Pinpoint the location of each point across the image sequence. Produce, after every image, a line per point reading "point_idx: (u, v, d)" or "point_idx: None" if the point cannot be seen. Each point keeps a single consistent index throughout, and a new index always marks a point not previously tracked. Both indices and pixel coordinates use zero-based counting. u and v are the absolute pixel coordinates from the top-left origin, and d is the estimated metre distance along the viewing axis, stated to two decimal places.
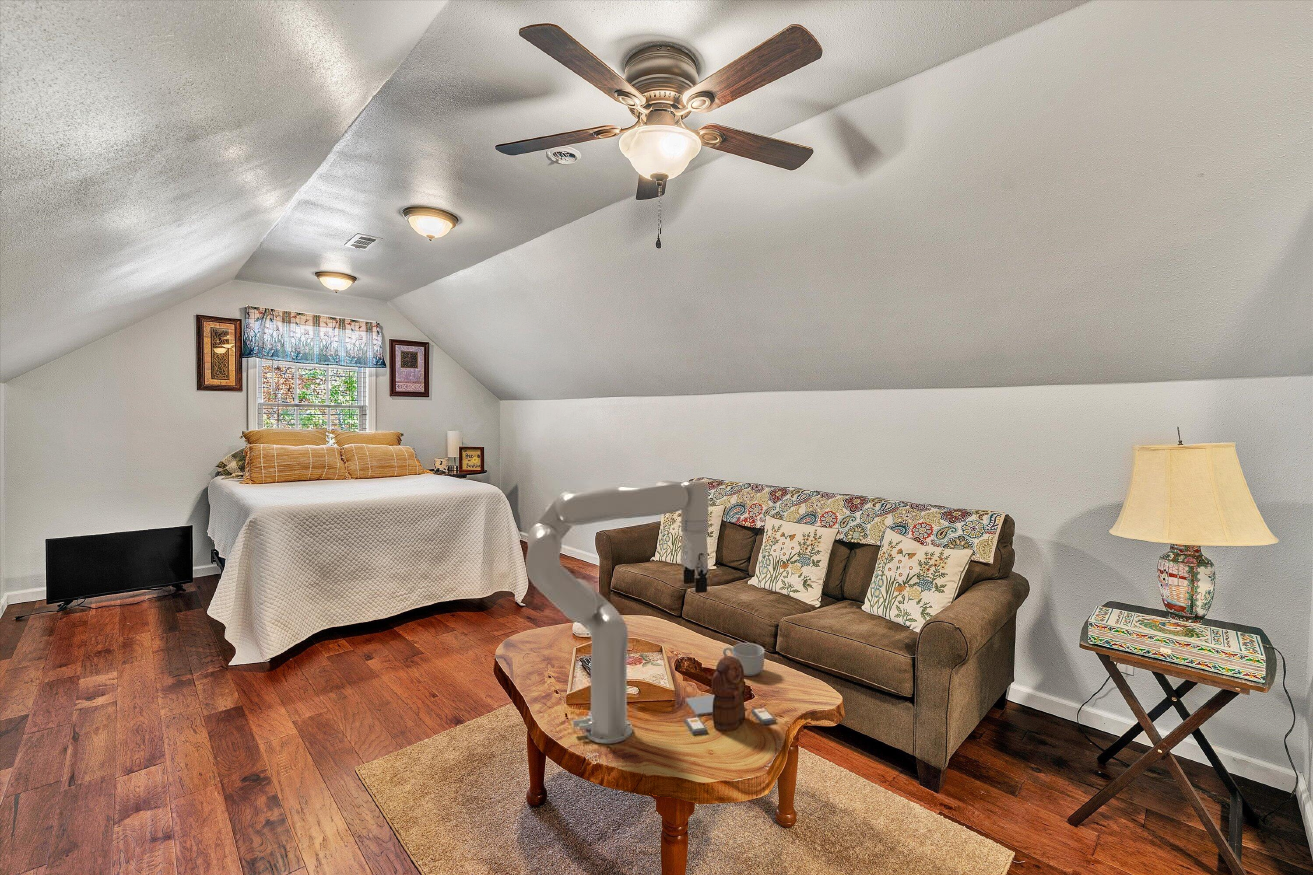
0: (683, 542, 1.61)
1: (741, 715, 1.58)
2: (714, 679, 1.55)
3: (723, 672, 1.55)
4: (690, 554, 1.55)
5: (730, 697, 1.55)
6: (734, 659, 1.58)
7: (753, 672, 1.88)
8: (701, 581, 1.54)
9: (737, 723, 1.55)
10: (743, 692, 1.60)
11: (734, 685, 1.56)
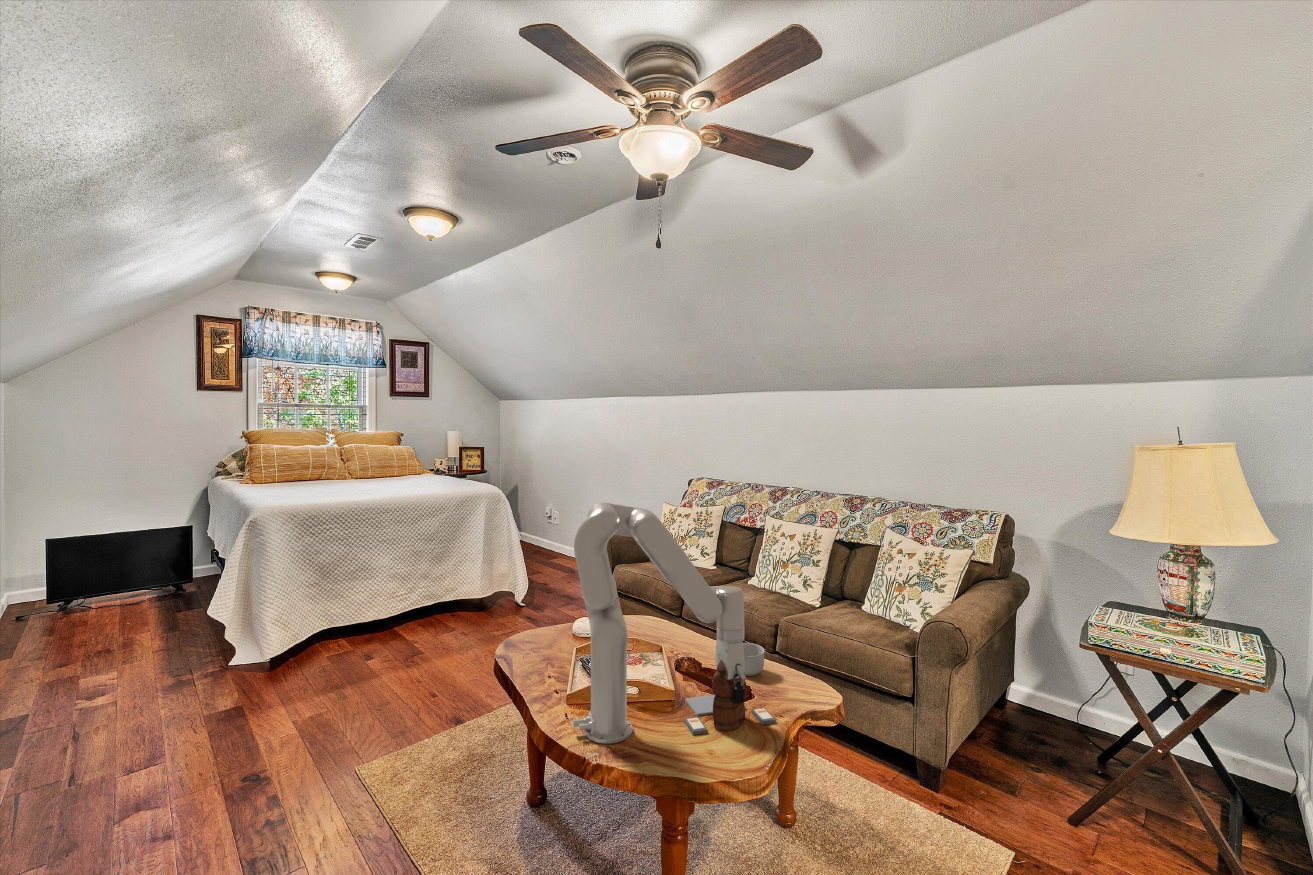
0: (719, 649, 1.59)
1: (741, 715, 1.58)
2: (715, 679, 1.55)
3: (724, 672, 1.55)
4: (727, 664, 1.54)
5: (730, 697, 1.54)
6: None
7: (753, 672, 1.88)
8: (738, 692, 1.53)
9: (737, 723, 1.55)
10: (744, 692, 1.60)
11: None
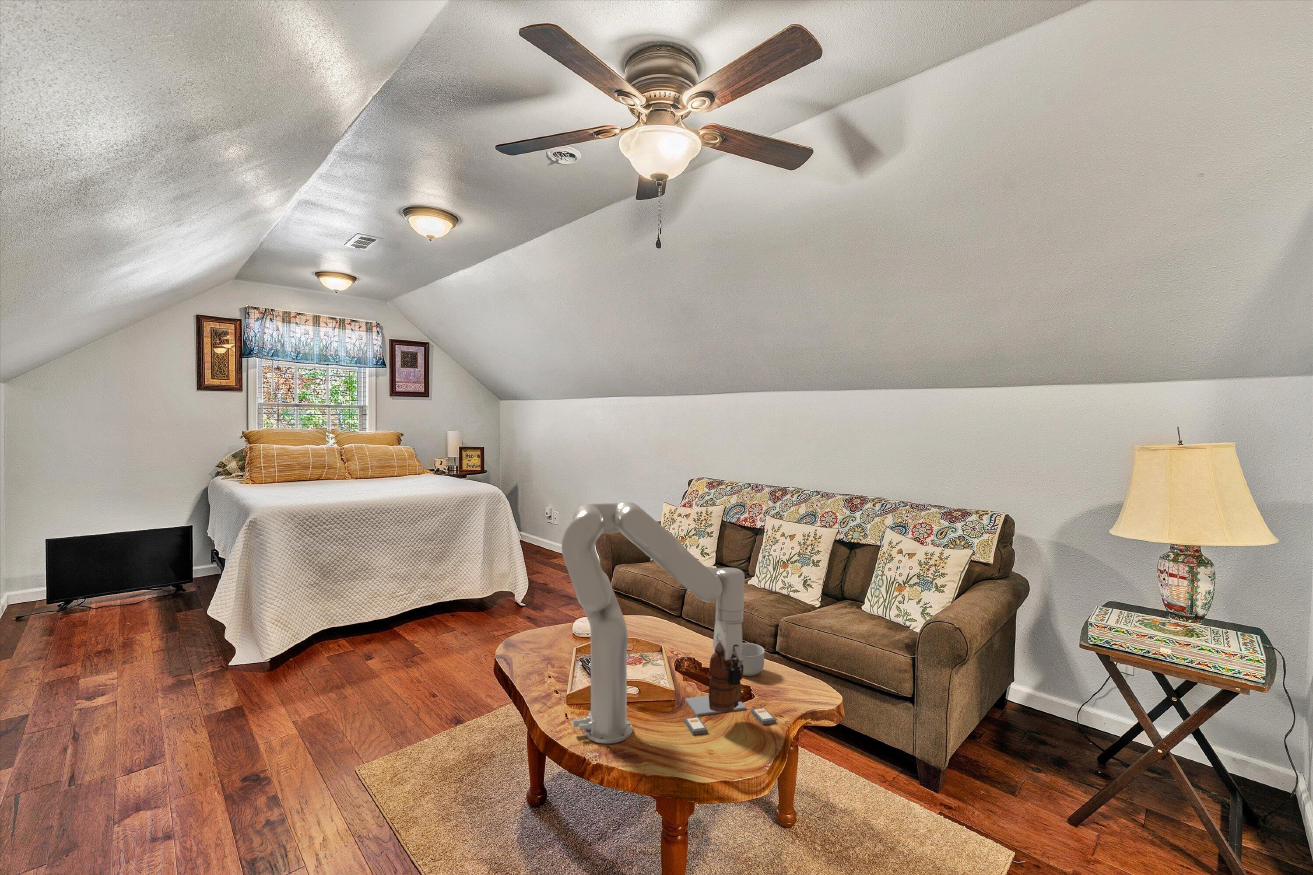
0: (717, 630, 1.59)
1: (737, 698, 1.57)
2: (712, 660, 1.54)
3: (722, 653, 1.54)
4: (725, 645, 1.54)
5: (727, 679, 1.54)
6: None
7: (753, 672, 1.88)
8: (734, 674, 1.53)
9: (733, 705, 1.55)
10: (740, 675, 1.60)
11: None
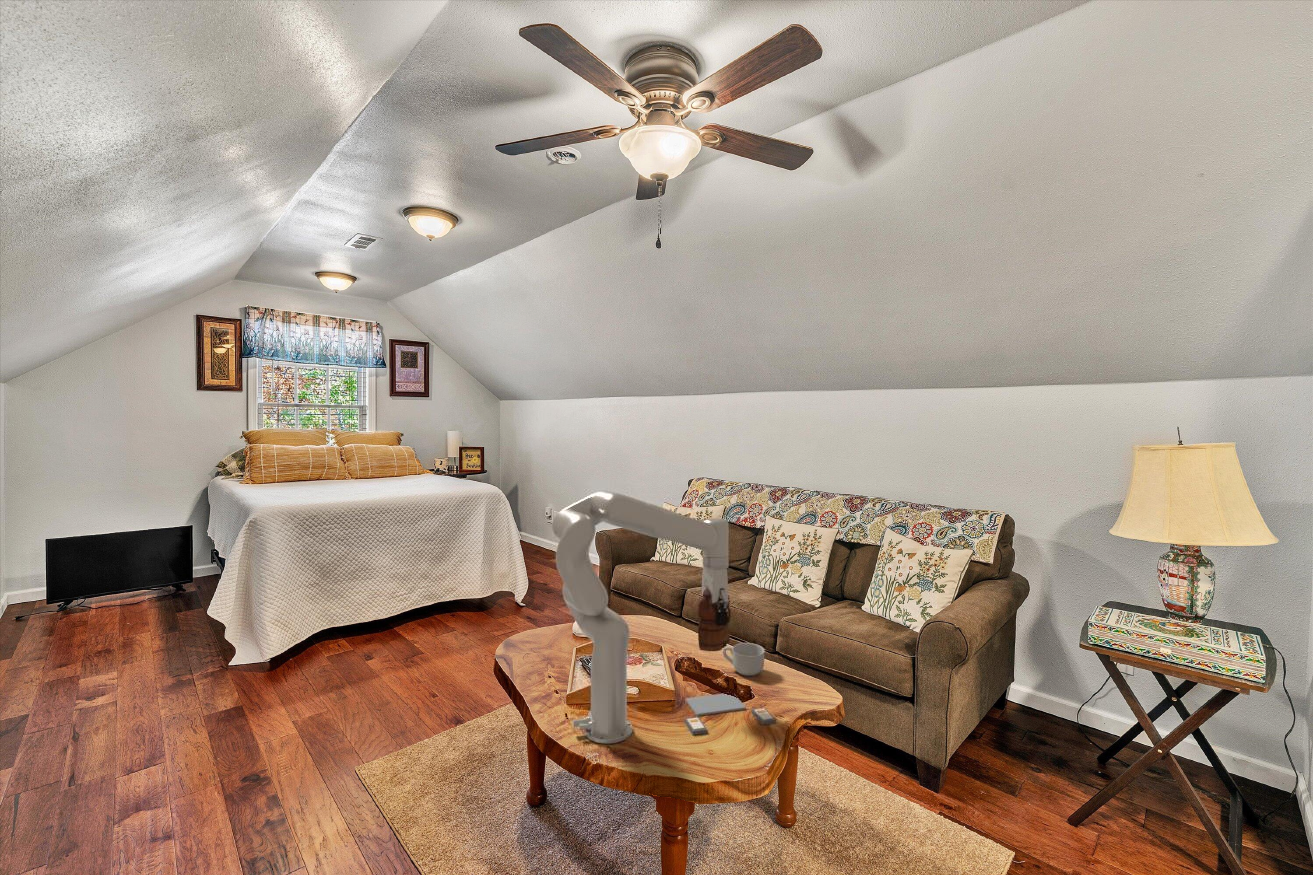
0: (704, 576, 1.70)
1: (725, 639, 1.68)
2: (700, 603, 1.65)
3: (709, 597, 1.65)
4: (711, 589, 1.65)
5: (715, 620, 1.65)
6: None
7: (753, 672, 1.88)
8: (721, 615, 1.64)
9: (721, 645, 1.66)
10: (728, 618, 1.70)
11: None
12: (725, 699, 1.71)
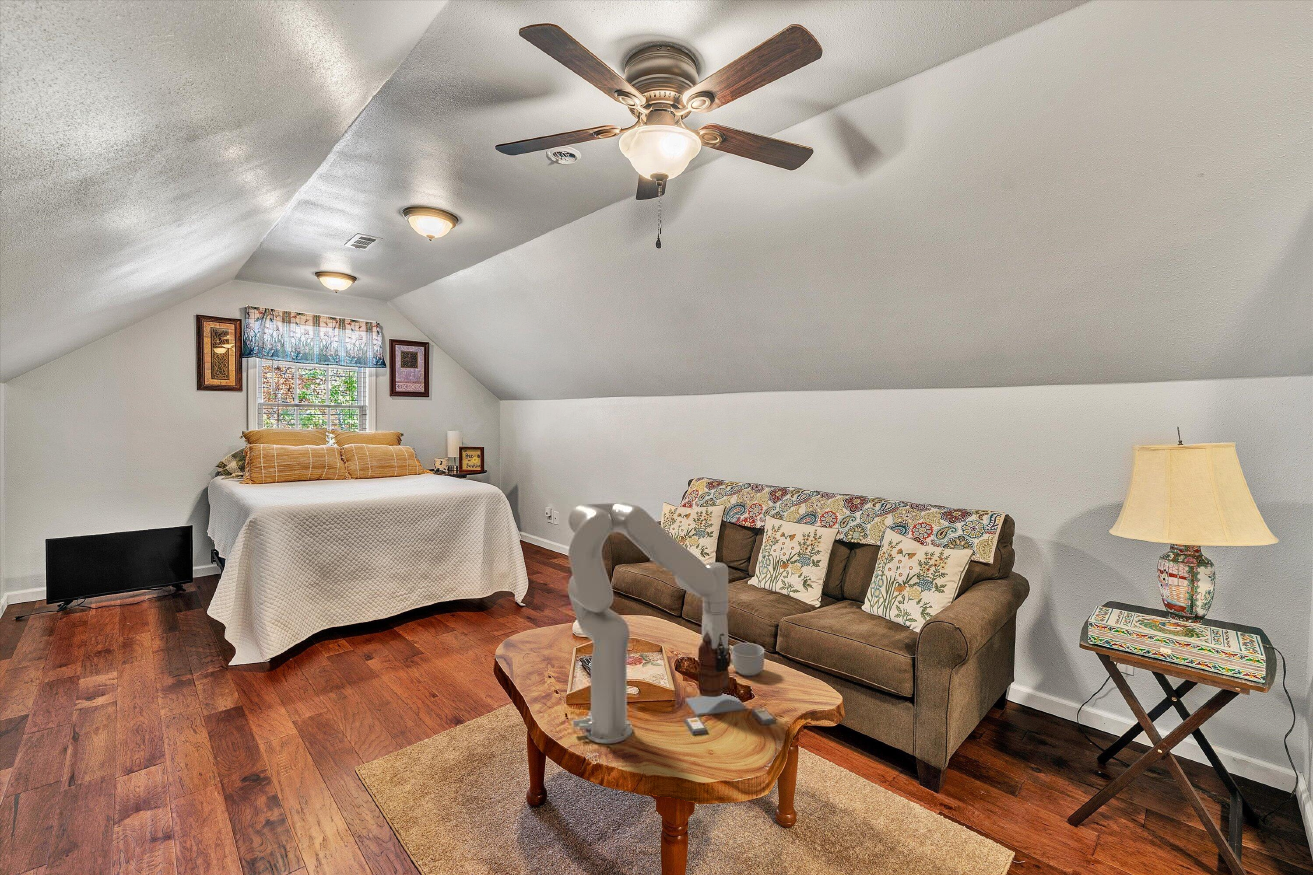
0: (704, 621, 1.70)
1: (725, 683, 1.68)
2: (700, 649, 1.65)
3: (709, 642, 1.65)
4: (711, 634, 1.65)
5: (715, 666, 1.65)
6: None
7: (753, 672, 1.88)
8: (721, 661, 1.64)
9: (721, 690, 1.66)
10: (728, 662, 1.70)
11: None
12: (725, 699, 1.71)
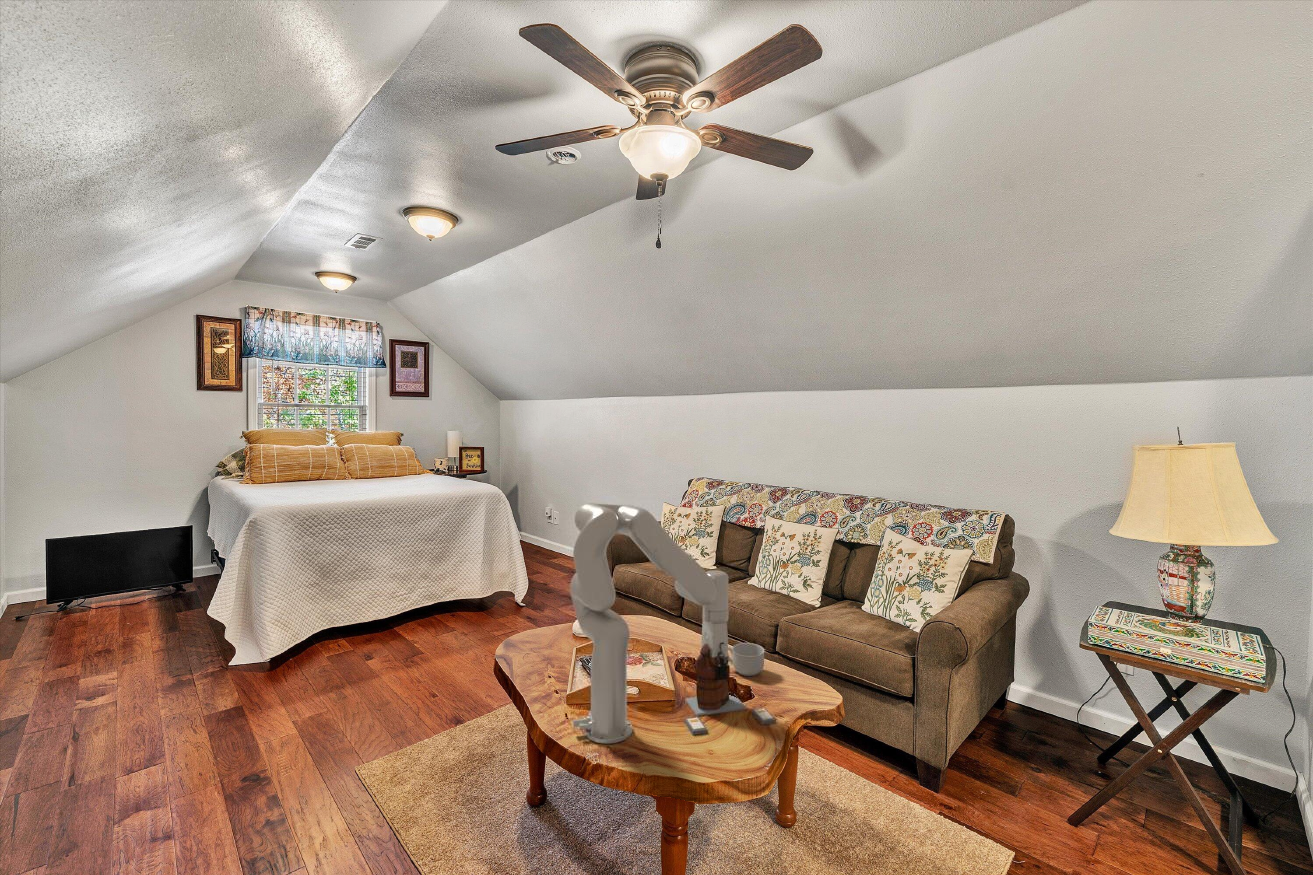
0: (704, 629, 1.70)
1: (724, 696, 1.68)
2: (698, 661, 1.65)
3: (706, 655, 1.65)
4: (711, 643, 1.65)
5: (712, 679, 1.65)
6: None
7: (753, 672, 1.88)
8: (721, 669, 1.64)
9: (719, 703, 1.66)
10: (727, 675, 1.70)
11: None
12: None
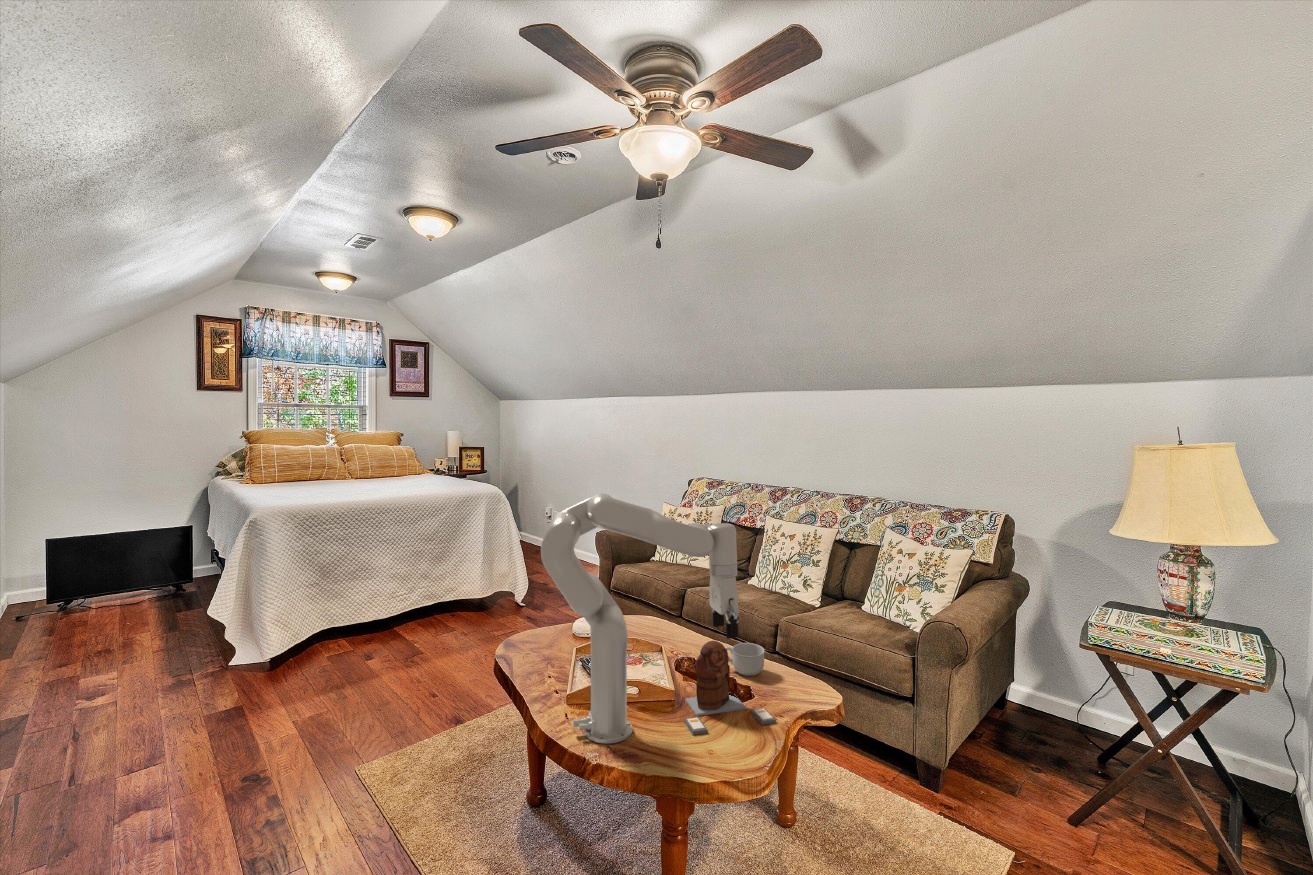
0: (712, 586, 1.59)
1: (724, 696, 1.68)
2: (698, 661, 1.65)
3: (706, 655, 1.65)
4: (720, 599, 1.54)
5: (713, 678, 1.65)
6: (717, 643, 1.68)
7: (753, 672, 1.88)
8: (732, 627, 1.52)
9: (719, 703, 1.66)
10: (727, 675, 1.70)
11: (717, 668, 1.67)
12: None
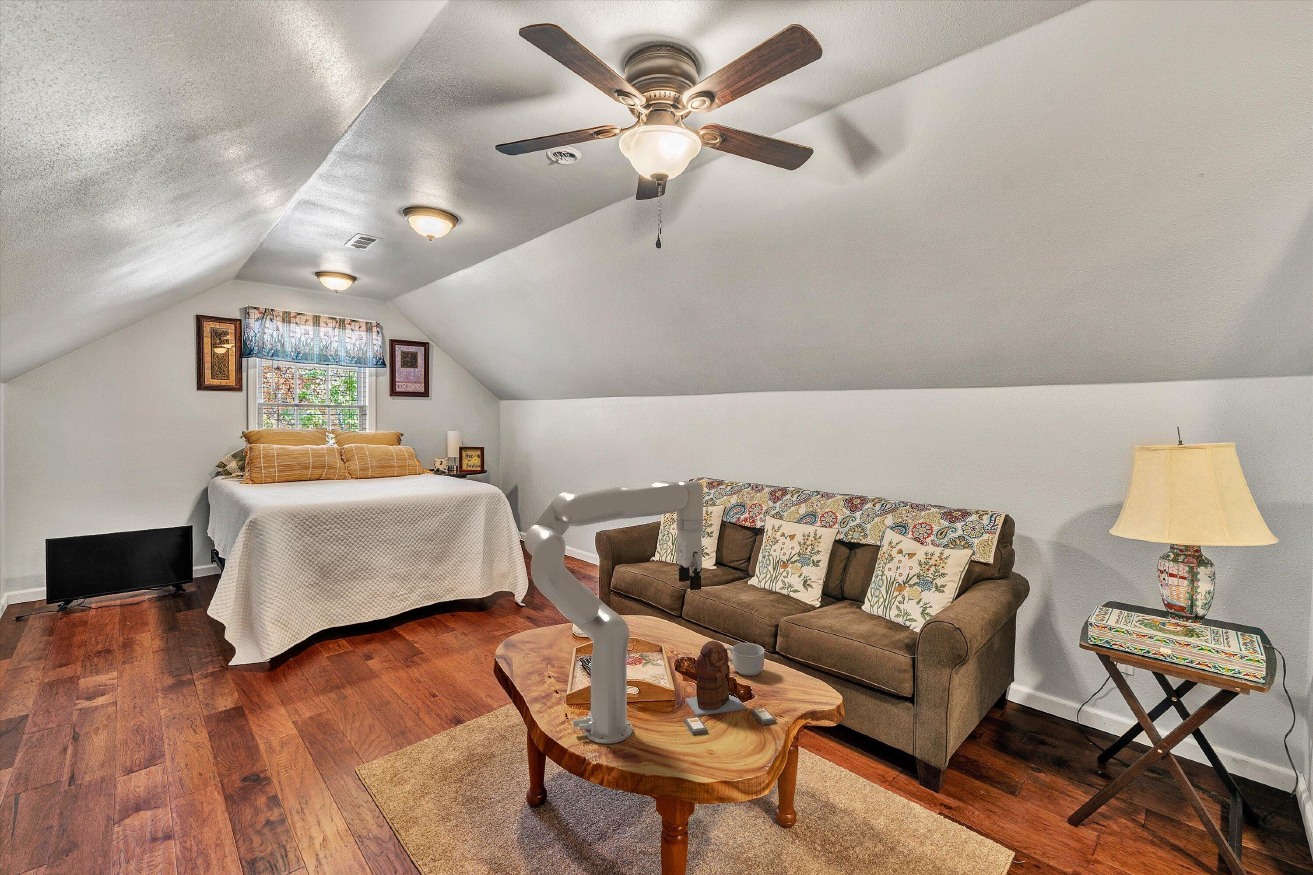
0: (678, 541, 1.65)
1: (724, 696, 1.68)
2: (698, 661, 1.65)
3: (706, 655, 1.65)
4: (685, 552, 1.59)
5: (713, 678, 1.65)
6: (717, 643, 1.68)
7: (753, 672, 1.88)
8: (695, 579, 1.58)
9: (719, 703, 1.66)
10: (727, 675, 1.70)
11: (717, 668, 1.67)
12: None
